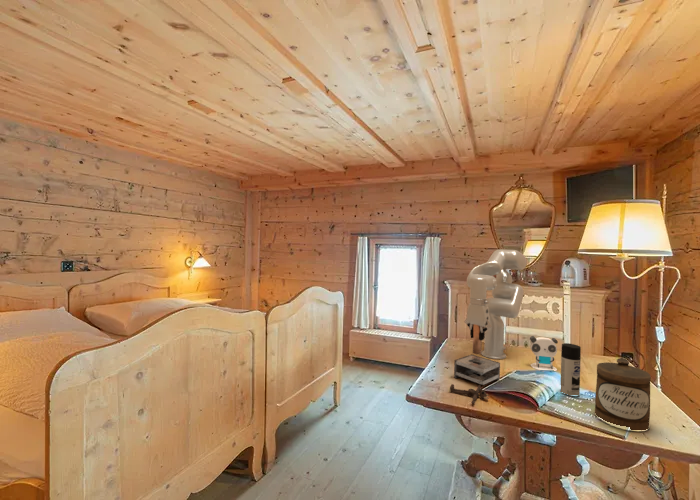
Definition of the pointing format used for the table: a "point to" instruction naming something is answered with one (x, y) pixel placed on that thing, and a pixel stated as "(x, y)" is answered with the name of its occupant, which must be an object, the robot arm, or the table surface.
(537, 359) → the panda figurine
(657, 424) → the table surface
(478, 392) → the bear figurine
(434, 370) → the table surface
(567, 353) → the spray can
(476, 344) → the tube
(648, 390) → the wooden container
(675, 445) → the table surface
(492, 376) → the frame
